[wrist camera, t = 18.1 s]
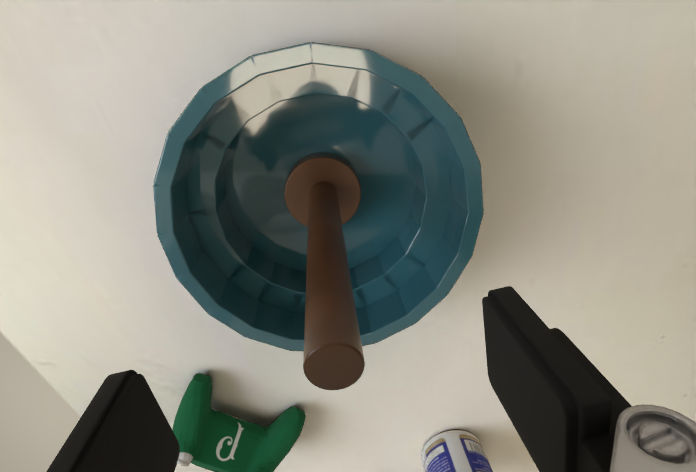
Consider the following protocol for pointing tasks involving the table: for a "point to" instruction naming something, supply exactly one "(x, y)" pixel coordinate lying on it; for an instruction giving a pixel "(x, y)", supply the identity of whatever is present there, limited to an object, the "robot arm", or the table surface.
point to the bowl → (270, 178)
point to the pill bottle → (454, 453)
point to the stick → (327, 268)
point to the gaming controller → (230, 434)
